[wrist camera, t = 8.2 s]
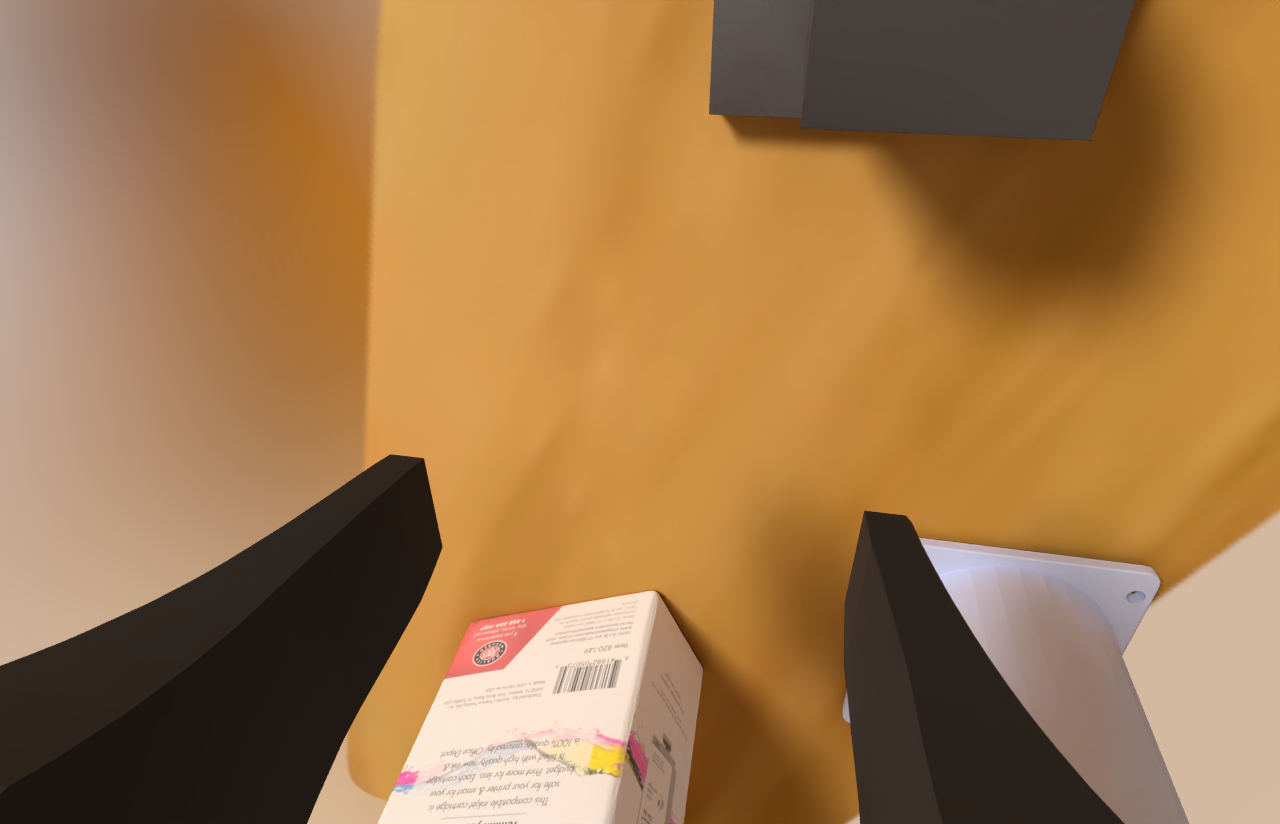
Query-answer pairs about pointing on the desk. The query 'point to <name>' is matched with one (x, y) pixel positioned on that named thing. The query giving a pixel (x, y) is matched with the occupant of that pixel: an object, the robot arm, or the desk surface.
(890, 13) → the link
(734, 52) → the frame
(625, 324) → the desk surface
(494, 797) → the ink cartridge box
